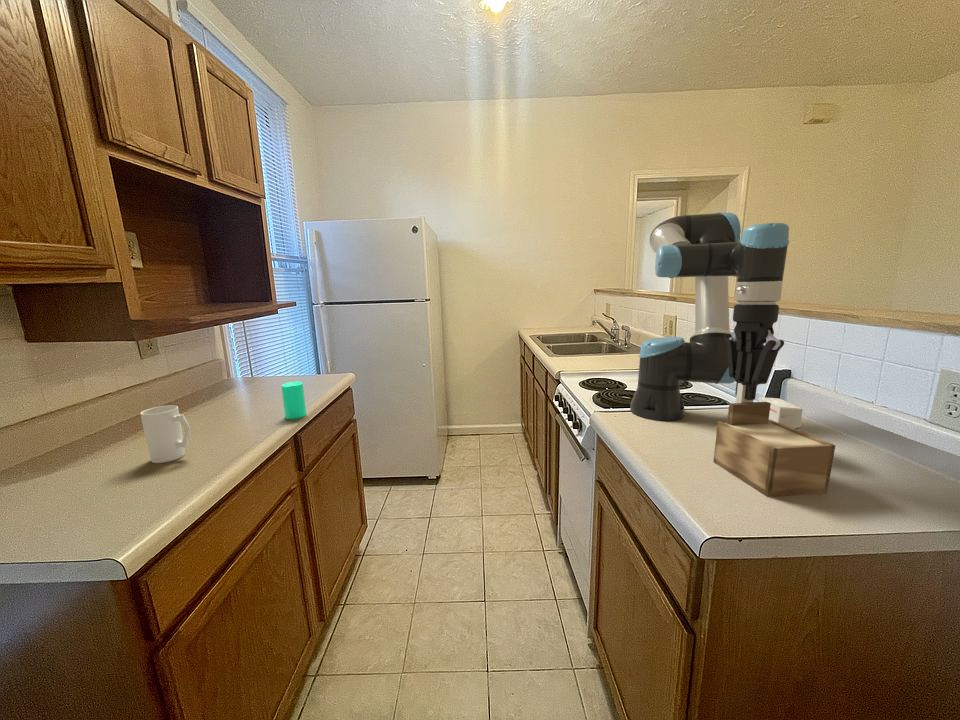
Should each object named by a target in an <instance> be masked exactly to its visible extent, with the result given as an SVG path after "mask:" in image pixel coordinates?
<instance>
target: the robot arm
mask: <svg viewBox="0 0 960 720" xmlns="http://www.w3.org/2000/svg"><path fill="white" fill-rule="evenodd" d="M741 234H742V235H741ZM789 234H790V226H789V225H788V224H787V223H783V222H767V223H760V224H759V223H758V224H753V225H749V226H747V227H745V228H744V229H743V230H742V227H741V222H740V219H739V217H738V216H737V215H736V214H735V213H733V212H722V211H719V212H715V213H702V214H700V213H699V214H689V215H688V214H685V215H677V216H673V217H671V218H669V219H668V218H667V219H666V220H664V221H662V222H659V224H657V225H656V226H655V228H653V230H652V232H651V233H650V237H649V245H650V248H651V249H652V250H653V252H654V253H656V254H655V261H654V262H655V263H654V265H655V266H654V272H655V276H656V277H657V278H668V279H675V278H694V291H695V292H694V295H695V296H694V302H695V303H694V306H695V307H694V312H695V313H694V315H695V320H694V321H695V322H694V324H695V327H694V329H695V333H693V334H692V335H691V336H690V338H689V342H688V341H687V342H686V341H685V338H684V337H682V336H663V337H654V338H650V339H647V340H644V341H643V342H642V343H641V345H640V351H639V355H638V358H639V364H638V374H637V375H638V378H637V388H636V389H635V393H634V394H633V396H632V399H631V402H630V408H629V410H630V412H631V413H632V414H634V415H636V416H638V417H641V418H645V419H650V420H656V421H677V420H681V419H684V417H685V406H684V401H683V398H682V394H681V389H680V388H681V382H689V383H703V384H705V383H708V384H716V385H719V384H729V385H730V384H733V383H736V384H735V385H736V386H735V394H734V395H735V397H736V399H735V403H749V402H754V401H755V399H756V396H757V388H758V386H759V385H765V384H767V383H768V380H769V377H770V376H771V372H772V370H773V367H774V364H775V361H776V359H777V356H778V354H779V351H780V350H781V349H782V348H783V347H784V345H785V341H784V340H783V339H777V337H776V336H774V334H775V331H774V326H773V325H774V324H775V323H777V322H778V319H779V311H780V306H779V305H778V304H777V302H778V303H779V302H781V297H782V291H783V290H782V289H783V280H784V274H785V267H786V266H785V265H786V260H787V253H788V246H789V243H790V240H789V238H790V236H789ZM729 277H734V278H735V277H737V278H736V289H735V295H734V297H735V298H734V301H735V302H737V303H736V304H735V305H734V306H733V312H732V321H733V322H735V326H734V327H733V331H730V299H729V297H730V296H729Z"/></svg>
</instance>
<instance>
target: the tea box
mask: <svg viewBox="0 0 960 720" xmlns="http://www.w3.org/2000/svg"><path fill="white" fill-rule="evenodd" d="M768 422H769V423H772V424H774V425H777V426H779V427H782V428H784V429H787V430H789V431H792V432H794V433H796V434H799V435H801V436H804V437H806V438H809V439H811V440H814V441H816V442H819V443H821V444H820V445H801V446H783V447H773V446H771V445H769V444H767V443H765V442H763V441H761V440H759V439H756V438H754V437H752V436H750V435H748V434H746V433H744V432H742V431H740V430H738V429H736V428H733V427H731V426H729V425H727V424H725V423H726V422H723V421H717V425H716V426H717V427H716V435H715V441H714V442H715V444H714V451H713V452H714V453H713V463H714V464H715V465H717V466H719V467H720V468H722V469H723V470H724V471H726V472H728V473H730V474H732V475H733V476H734V477H736V478H738V479H739V480H741V481H742V482H744V483H745V484H747V485H748V486H750V487H752V488H753V489H754V490H756V491H757V492H760V493H761V494H762V495H763V496H766V497H781V496H797V495H812V494H813V495H815V494H824V493H825V494H827V493H828V491H829V485H830V480H831V479H830V478H831V473H832V468H833V462H834V457H835V456H834V454H835V451H836V444H833V443H831V442H828V441H826V440H823V439H820V438H817V437H815V436H812V435H810V434H808V433H806V432H802V431H801V430H800V431H798V430H795V429H793V428H790V427H788V426H785V425H783V424H780V423H778V422H775V421H773V420H770V419H769V420H768Z"/></svg>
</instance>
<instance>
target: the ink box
mask: <svg viewBox="0 0 960 720" xmlns="http://www.w3.org/2000/svg"><path fill="white" fill-rule="evenodd" d="M757 399H758V401H757V402H768V403H771V405H770V413H769V419H770V420H773V421H775V422H778V423H780V424H783V425H785V426H788V427H790V428H793V429H795V430H798V431H800V432H801V430H800V429H801V423H802V415H803V408H801V407H799V406H797V405H795V404H793V403H790V402H788V401H786V400H783V399H782V398H776V397H775V398H774V397H763V396H761V397H759V398H757Z"/></svg>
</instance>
